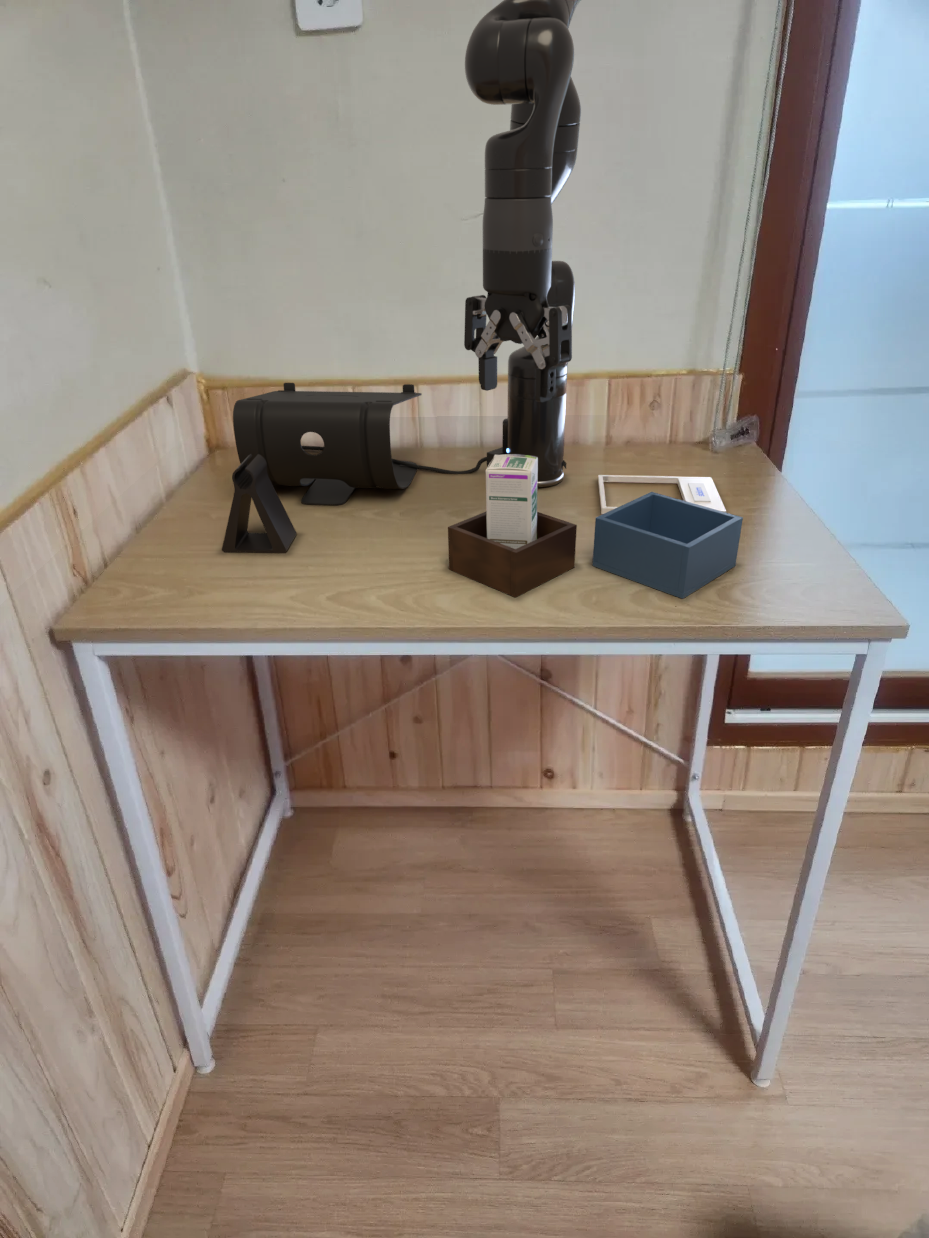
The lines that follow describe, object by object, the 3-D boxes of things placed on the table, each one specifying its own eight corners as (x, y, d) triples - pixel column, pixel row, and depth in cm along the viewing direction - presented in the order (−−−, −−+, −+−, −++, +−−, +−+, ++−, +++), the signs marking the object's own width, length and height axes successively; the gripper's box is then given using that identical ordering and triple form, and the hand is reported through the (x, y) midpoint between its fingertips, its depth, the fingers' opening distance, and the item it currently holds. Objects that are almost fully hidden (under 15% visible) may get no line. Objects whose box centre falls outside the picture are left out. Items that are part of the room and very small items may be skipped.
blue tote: (592, 566, 110) (595, 517, 107) (647, 537, 118) (651, 491, 115) (682, 599, 102) (689, 547, 98) (735, 566, 110) (743, 517, 106)
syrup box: (531, 579, 107) (534, 470, 100) (485, 576, 108) (485, 467, 101) (537, 560, 112) (540, 454, 105) (493, 557, 113) (493, 452, 106)
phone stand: (297, 535, 120) (287, 454, 114) (286, 553, 115) (275, 469, 109) (235, 534, 121) (222, 453, 115) (222, 552, 116) (207, 468, 110)
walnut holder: (448, 569, 110) (447, 526, 107) (508, 542, 117) (508, 502, 114) (515, 597, 103) (516, 552, 100) (574, 567, 110) (576, 524, 107)
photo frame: (726, 510, 123) (601, 507, 125) (725, 517, 124) (601, 514, 125) (711, 476, 136) (598, 473, 137) (710, 482, 136) (597, 480, 138)
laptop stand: (238, 506, 131) (223, 406, 123) (284, 457, 151) (273, 369, 144) (400, 511, 128) (395, 409, 120) (425, 460, 148) (422, 371, 141)
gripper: (591, 245, 89) (583, 399, 97) (492, 238, 98) (492, 380, 106) (546, 251, 84) (541, 412, 92) (446, 243, 93) (450, 391, 101)
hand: (515, 394), depth 99 cm, fingers open, 8 cm apart
